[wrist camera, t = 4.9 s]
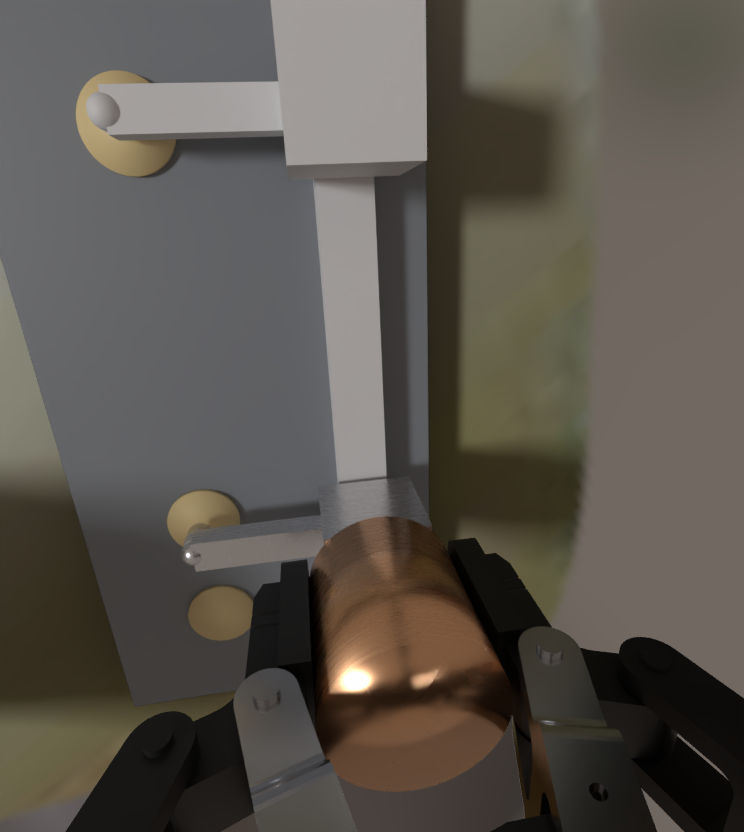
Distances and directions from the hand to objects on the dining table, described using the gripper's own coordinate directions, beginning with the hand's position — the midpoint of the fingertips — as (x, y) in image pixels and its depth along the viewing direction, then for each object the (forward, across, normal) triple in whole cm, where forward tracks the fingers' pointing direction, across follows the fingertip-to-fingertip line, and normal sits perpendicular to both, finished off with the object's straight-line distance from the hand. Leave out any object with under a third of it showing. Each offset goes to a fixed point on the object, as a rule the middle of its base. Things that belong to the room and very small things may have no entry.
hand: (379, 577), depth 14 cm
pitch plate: (+6, +4, -4) cm, 8 cm away
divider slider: (+4, +2, 0) cm, 4 cm away
